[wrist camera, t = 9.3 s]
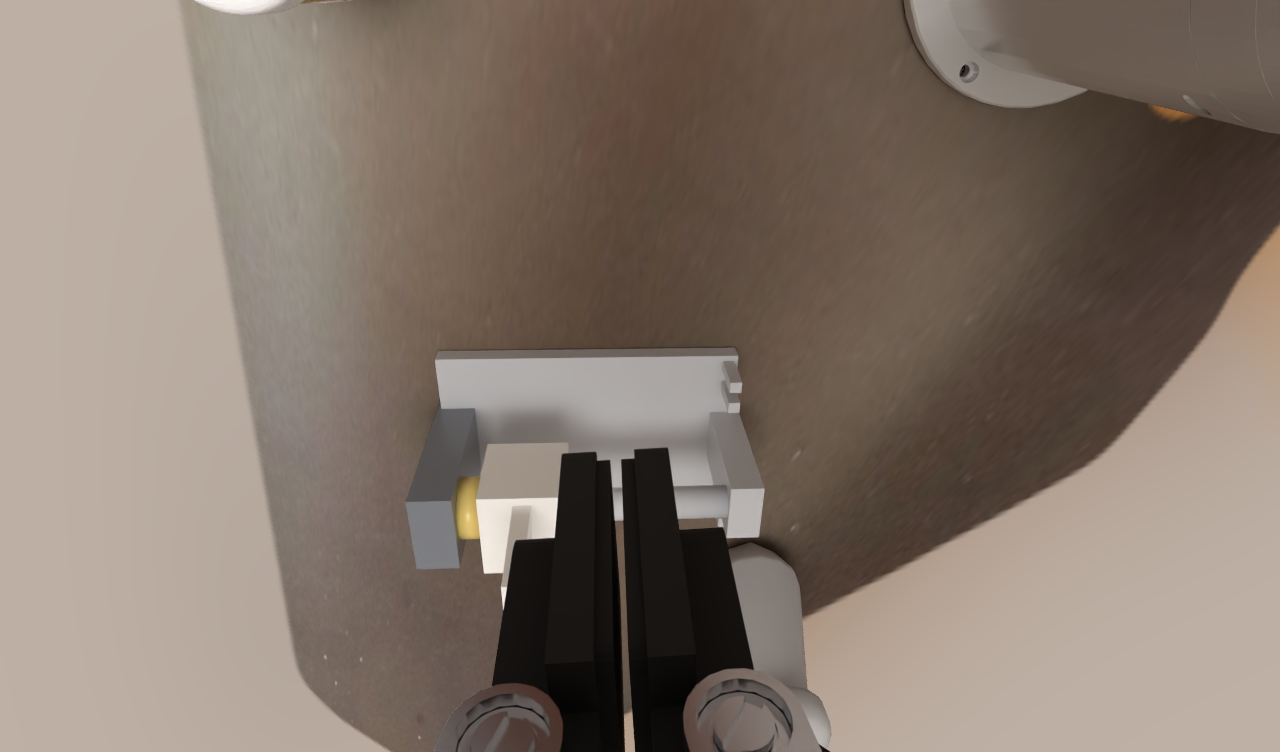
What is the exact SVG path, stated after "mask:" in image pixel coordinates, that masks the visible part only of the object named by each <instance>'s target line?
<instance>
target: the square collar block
mask: <svg viewBox="0 0 1280 752" xmlns="http://www.w3.org/2000/svg"><path fill="white" fill-rule="evenodd" d="M563 453H569V447H568V443H517V444H488V445H487V449H486V454H485V459H484V464H483V468H482V473H481V478H480V482H479V487H478V492H477V496H476V505H477V514H478V523H479V532H480V541H481V550H482V559H483V568H484V573H503V577H502V584H501V591H502V601H503V610H504V603H505V597H506V590H507V584H508V577H509V571H510V564H511V557H512V551H513V546H514V543H515V541H516V540H525V539H542V538H555V528H556V516H557V504H558V491H559V479H560V467H561V456H562V454H563Z"/></svg>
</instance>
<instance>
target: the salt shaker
mask: <svg viewBox="0 0 1280 752" xmlns="http://www.w3.org/2000/svg"><path fill="white" fill-rule="evenodd" d="M728 550H729V555H730V560H731V564H732V569H733V573H734V578H735V583H736V587H737V592H738V597H739V601H740V606H741V611H742V615H743V620H744V625H745V629H746V634H747V638H748V643H749V648H750V652H751V657H752V662H753V666H754V670H755V671H760V672H763V673H765V674H767V675H770V676H772V677H774V678H776V679H778V680H779V681H780V682H782V683H783V684H784V685H785V686H786V687H787V688H789V689H790V690H791V691H792V692H793V693H794V695H795V697H796V698H797V700H798V701H799V703H800V704H801V706H802V708H803V710H804V712H805V714H806V717H807V719H808V721H809V723H810V726H811V728H812V730H813V732H814V735H815V737H816V739H817V741H818V744H820V745H821V746H823V747H824V748H827V747H828V744H829V741H830V738H831V727H830V721H829V719H828V716H827V713H826V711H825V708H824V706H823V703H822V701H821V700H820V698H819V697H818V696H816V695H815V694H814V693H812V692H810V691H809V690H807V679H806V664H805V651H804V639H803V625H802V611H801V597H800V587H799V584H798V581H797V578H796V575H795V572H794V571H793V569H792V567H791V566H789V565H788V564H787V563H786V562H785V561H784V560H782V559H781V558H780V557H779V556H778V555H777V554H775V553H774V552H772V551H770V550H768V549H766V548H763V547H761V546H759V545H757V544H754V543H752V542H749V543H746V544H743V545H740V546H737V547H734V548H731V549H728Z"/></svg>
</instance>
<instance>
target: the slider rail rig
mask: <svg viewBox="0 0 1280 752" xmlns="http://www.w3.org/2000/svg"><path fill="white" fill-rule="evenodd" d="M737 364H738V354H737V351H736V349H735V347H732V348H648V349H565V350H481V351H438V353H437V355H436V358H435V365H436V372H437V380H438V387H439V395H440V403H439V406H438V409H437V412H436V415H435V418H434V421H433V424H432V426H431V429H430V432H429V435H428V438H427V441H426V444H425V447H424V450H423V453H422V456H421V458H420V461H419V464H418V467H417V470H416V473H415V476H414V479H413V482H412V485H411V488H410V490H409V493H408V496H407V499H406V508H407V514H408V520H409V525H410V531H411V537H412V543H413V549H414V555H415V561H416V566H417V569H443V568H460V565H461V560H462V556H463V551H464V546H465V542H466V539H480V532H479V523H478V514H477V505H476V496H477V492H478V487H479V482H480V478H481V473H482V468H483V464H484V459H485V454H486V449H487V445H488V444H517V443H568V447H569V453H580V452H596V453H597V461H599V460H610V463H611V475H612V489H613V503H614V516H615V521H617V520H623V497H622V471H621V459H633V458H634V449H647V448H664V447H668V451H669V458H670V465H671V472H672V480H673V487H674V494H675V502H676V509H677V516H678V519H694V518H716V520H717V525H718V527H724V529H725V533H726V538H749V537H759V530H760V522H761V514H762V506H763V498H764V490H765V488H764V485H763V482H762V479H761V476H760V473H759V470H758V468H757V465H756V462H755V459H754V456H753V453H752V450H751V447H750V444H749V441H748V438H747V435H746V432H745V429H744V426H743V423H742V420H741V417H740V414H739V411H740V401H739V398H738V395H737V393H741V391H742V381H741V378H740V375H739V373H738V370H737Z"/></svg>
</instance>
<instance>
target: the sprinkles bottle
mask: <svg viewBox="0 0 1280 752" xmlns="http://www.w3.org/2000/svg"><path fill="white" fill-rule="evenodd" d="M194 1H196V2H198V3H200V4H202V5H204V6H207V7H209V8H211V9H214V10H217V11H221V12H224V13H229V14H236V15H262V14H272V13H278V12H282V11H285V10H289V9H291V8H293V7H295V6H297V5H299V4H301V3H334V2H345V1H352V0H194Z"/></svg>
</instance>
